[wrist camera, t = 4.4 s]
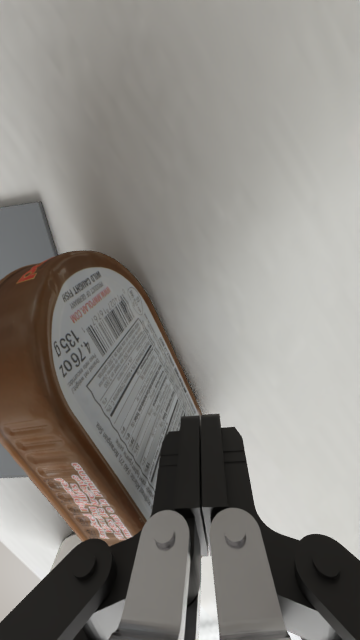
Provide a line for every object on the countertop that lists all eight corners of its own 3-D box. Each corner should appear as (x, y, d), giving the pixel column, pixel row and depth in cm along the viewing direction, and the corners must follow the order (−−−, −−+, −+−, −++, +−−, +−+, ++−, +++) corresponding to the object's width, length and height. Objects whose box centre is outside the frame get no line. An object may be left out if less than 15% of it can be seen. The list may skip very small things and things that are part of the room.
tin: (77, 243, 14) (-122, 328, 7) (128, 221, 13) (-52, 298, 6) (186, 452, 20) (136, 618, 12) (230, 451, 18) (202, 636, 11)
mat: (-144, 229, 14) (-151, 230, 14) (41, 201, 13) (37, 201, 13) (-5, 474, 22) (-7, 478, 21) (123, 469, 21) (122, 472, 20)
